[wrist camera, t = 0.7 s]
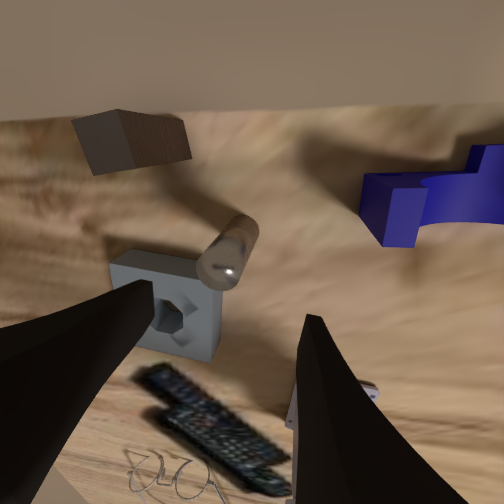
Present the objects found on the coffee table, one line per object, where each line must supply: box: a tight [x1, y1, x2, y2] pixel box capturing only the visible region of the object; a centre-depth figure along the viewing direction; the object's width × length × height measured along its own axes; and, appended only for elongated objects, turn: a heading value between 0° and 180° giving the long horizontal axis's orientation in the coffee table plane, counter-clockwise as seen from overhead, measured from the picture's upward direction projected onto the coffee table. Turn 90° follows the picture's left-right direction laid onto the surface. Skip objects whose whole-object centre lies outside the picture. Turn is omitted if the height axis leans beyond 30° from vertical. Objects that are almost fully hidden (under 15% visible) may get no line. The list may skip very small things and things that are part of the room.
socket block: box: [109, 249, 223, 363], centre depth 23 cm, size 9×9×3 cm
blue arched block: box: [359, 144, 504, 248], centre depth 13 cm, size 12×4×6 cm, turn 93°
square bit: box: [71, 109, 192, 176], centre depth 15 cm, size 3×3×7 cm
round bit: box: [196, 215, 259, 291], centre depth 17 cm, size 3×3×7 cm
